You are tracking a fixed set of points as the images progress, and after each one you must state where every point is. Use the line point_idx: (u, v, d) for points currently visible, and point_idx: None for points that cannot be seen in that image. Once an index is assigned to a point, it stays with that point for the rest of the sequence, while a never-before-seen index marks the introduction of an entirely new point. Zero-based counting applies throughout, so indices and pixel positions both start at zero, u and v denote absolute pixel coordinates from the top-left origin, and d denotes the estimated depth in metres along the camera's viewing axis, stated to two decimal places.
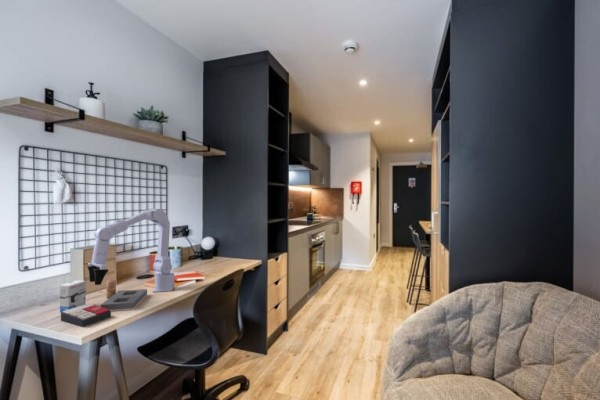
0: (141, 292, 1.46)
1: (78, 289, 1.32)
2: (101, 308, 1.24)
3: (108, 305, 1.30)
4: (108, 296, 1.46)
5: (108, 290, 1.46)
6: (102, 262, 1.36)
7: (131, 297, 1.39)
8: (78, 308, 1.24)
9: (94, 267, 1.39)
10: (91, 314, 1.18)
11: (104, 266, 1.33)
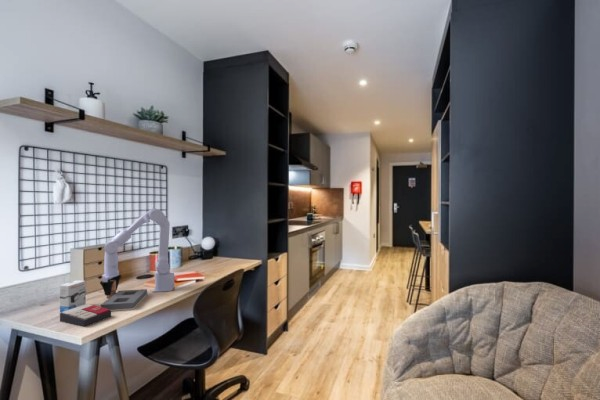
0: (141, 292, 1.46)
1: (78, 289, 1.32)
2: (101, 308, 1.24)
3: (108, 305, 1.30)
4: (108, 296, 1.46)
5: None
6: (110, 274, 1.46)
7: (131, 297, 1.39)
8: (77, 308, 1.23)
9: (113, 277, 1.52)
10: (92, 314, 1.18)
11: (105, 279, 1.41)
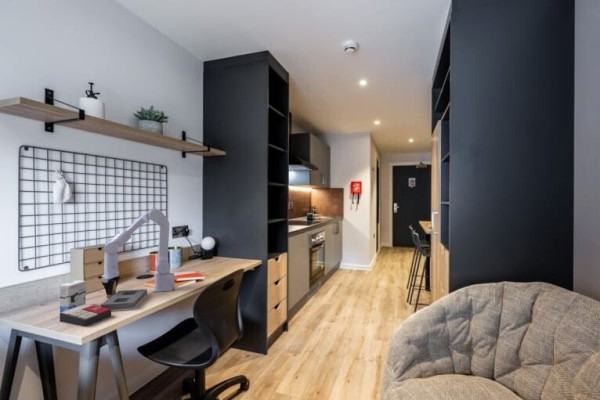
0: (141, 292, 1.46)
1: (78, 289, 1.32)
2: (101, 308, 1.25)
3: (108, 305, 1.30)
4: (108, 296, 1.46)
5: None
6: (110, 274, 1.46)
7: (131, 297, 1.39)
8: (77, 308, 1.23)
9: (112, 278, 1.50)
10: (92, 314, 1.19)
11: (105, 279, 1.41)
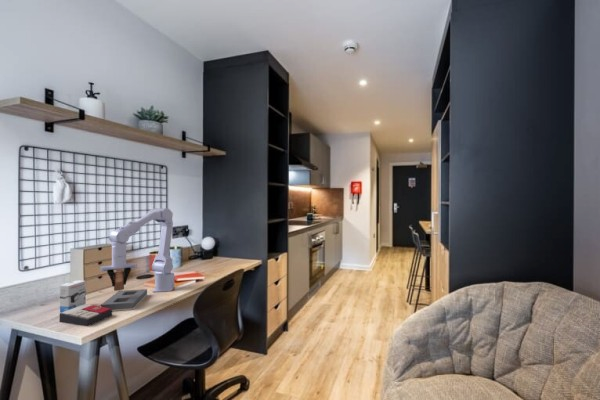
0: (141, 292, 1.46)
1: (78, 289, 1.32)
2: (101, 307, 1.25)
3: (108, 305, 1.30)
4: None
5: None
6: (112, 265, 1.36)
7: (131, 297, 1.39)
8: (77, 309, 1.23)
9: (124, 270, 1.40)
10: (94, 313, 1.19)
11: (100, 268, 1.34)
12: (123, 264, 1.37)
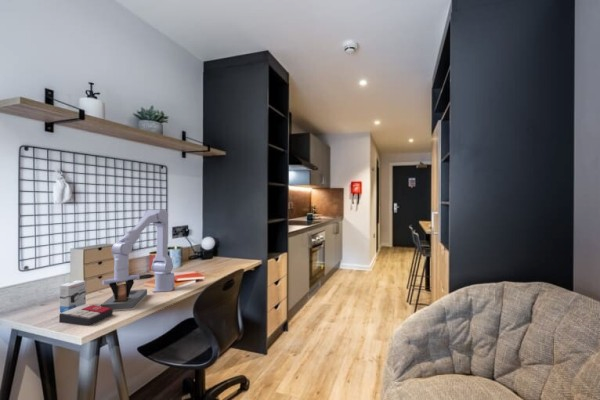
0: (141, 292, 1.46)
1: (78, 289, 1.32)
2: (102, 307, 1.25)
3: (108, 305, 1.30)
4: None
5: None
6: (115, 277, 1.33)
7: (131, 297, 1.39)
8: (76, 309, 1.23)
9: (126, 282, 1.37)
10: (95, 313, 1.19)
11: (102, 282, 1.30)
12: (126, 276, 1.35)
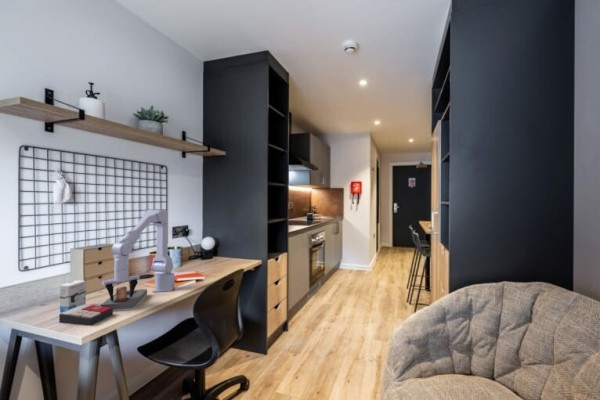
0: (141, 292, 1.46)
1: (78, 289, 1.32)
2: (102, 307, 1.25)
3: (108, 305, 1.30)
4: None
5: None
6: (115, 278, 1.33)
7: (131, 297, 1.39)
8: (76, 309, 1.23)
9: (130, 282, 1.38)
10: (96, 313, 1.20)
11: (102, 282, 1.30)
12: (126, 277, 1.35)
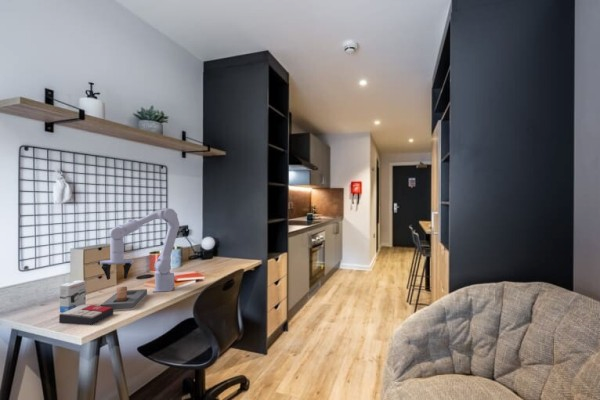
0: (141, 292, 1.46)
1: (78, 289, 1.32)
2: (102, 307, 1.26)
3: (108, 305, 1.30)
4: None
5: None
6: (110, 259, 1.46)
7: (131, 297, 1.39)
8: (76, 309, 1.23)
9: None
10: (97, 312, 1.20)
11: None
12: (118, 259, 1.45)
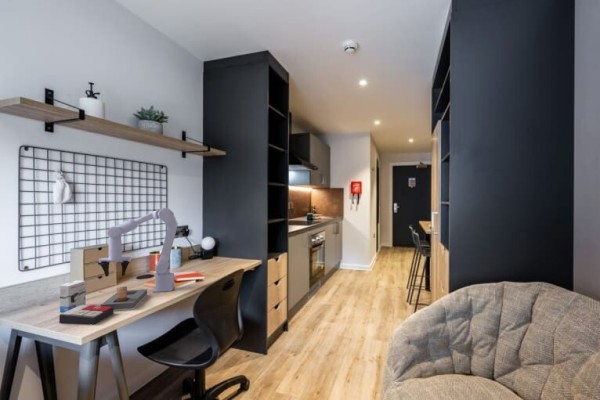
0: (141, 292, 1.46)
1: (78, 289, 1.32)
2: (102, 306, 1.26)
3: (108, 305, 1.30)
4: None
5: None
6: None
7: (131, 297, 1.39)
8: (76, 309, 1.22)
9: None
10: (98, 312, 1.20)
11: None
12: (116, 257, 1.51)
